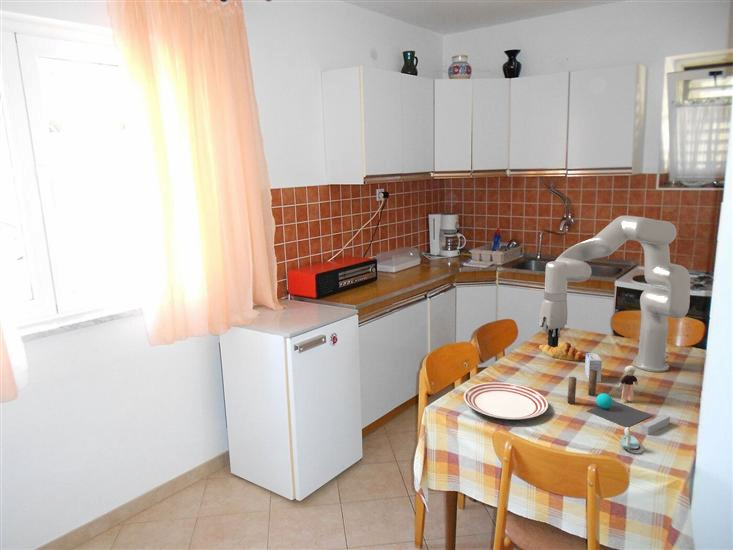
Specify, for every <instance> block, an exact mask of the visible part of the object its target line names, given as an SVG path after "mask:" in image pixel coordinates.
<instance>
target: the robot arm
mask: <svg viewBox="0 0 733 550" xmlns="http://www.w3.org/2000/svg"><path fill="white" fill-rule="evenodd" d="M676 237H677V228H676V226H675V224H673V222H671V221H667V220H660V219H659V220H658V219H653V218H648V217H644V216H635V215H619V216H618V217H615V219H613V220H612V221H611V222H610V223H609V224H608V225H607V226H605V227H604V228H602V230H601V231H599V232H598V233H597V234H596V235H595V236H593V237H591V238H589V239H587V240H584V241H581V242H578V243H576V244H575V245H572V246H570V247H568V248H567V249H565V250H564V251H563V252H562V253H561V254H560V255H559V256H558V257H557V258H556V259H555V260H553V261H548V262H547V263H546V264H545V278H544V295H543V300H542V303H541V305H540V306H541V307H540V313H539V322H538V323H539V324H538V325H539V327H540V328H542V330H541V331H542V333H545V334H546V335H547V344H548V346H551V347H558V343H559V336H560V335H561V332H562V330H563V329H564V328H565V327H566V326H567V323H568V302H567V301H568V300H567V297H568V284H569V283H582V282H586V281H587V280H589V279H590V278H591V276H592V273H593V271H592V267H591V265H590V264H588V262H585V261H587V260H592V259H599V258H605V257H609V256H611V255H612V254H613V253H614V252H616V251H617V250H618V249H619V248H620V247H621V246H623V244H625V243H626V242H627V241H636V242H638V243H639V244H640V245H641V246H642V248H643V254H644V280H645V282H646V283H647V284H649V285H651V286H655V287H649V288H646V289H645V290H643V291H642V293H641V294H640V297H639V298H640V299H639V304H640V306H639V307H640V312H641V313H640V314H641V315H640V317H641V320H640V331H639V343H638V353H637V358H635V359H634V360H633V362H632V364H633V367H635V368H636V369H637V368H638V369H640V370H643V371H648V372H654V373H659V372H667V371H668V370H669V369H670V366H669V364H668V363H667V362H666V360H667V359H668V358H670V354H669V353H668V352H667V342H668V336H669V335H668V334H669V320H668V318H672V319H682V318H684V317H685V316H686V315H687V314H688V312H689V309H690V305H691V304H690V302H691V299H690V298H691V275H690V272H689V270H688V269H687V268H686V267H685V266H683V265H681V264H675V263H671V255H670V253H671V252H670V246H669V244H671V243H672V242H673V241H674V240H675V239H676ZM657 287H658V288H657Z"/></svg>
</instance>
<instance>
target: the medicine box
mask: <svg viewBox="0 0 733 550" xmlns="http://www.w3.org/2000/svg"><path fill="white" fill-rule="evenodd" d="M585 355H586V357H585V361H584V362H585V363H584V375H585V378H586V379H587V381H588V382H589V374H590V369H595V370H597V381H596V383H601V382H602V367H603V365H602V364H603V361H602V359H601V357H600V355H599V354H598V353H595V352H594V353H593V352H590V353H589V352H588V353H587V352H586V353H585Z"/></svg>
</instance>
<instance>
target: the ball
mask: <svg viewBox="0 0 733 550" xmlns="http://www.w3.org/2000/svg"><path fill="white" fill-rule="evenodd" d="M612 400H613V398H612V397H611V396H610V395H609V394H608V393H605V392H604V393H599V394H598V395H597V397H596V400H595V402H596V405H597V406H599V407H600V408H602V409H608V408H610V407H611V406H612V403H613V401H614V400H613V401H612Z"/></svg>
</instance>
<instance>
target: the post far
mask: <svg viewBox="0 0 733 550" xmlns="http://www.w3.org/2000/svg"><path fill="white" fill-rule="evenodd" d="M567 386H568V388H567V402H568V403H569V405H575V404H576V394H577V393H576V392H577V391H576V390H577V377H575V376H569V377H568V385H567ZM568 403H567V404H568Z"/></svg>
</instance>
